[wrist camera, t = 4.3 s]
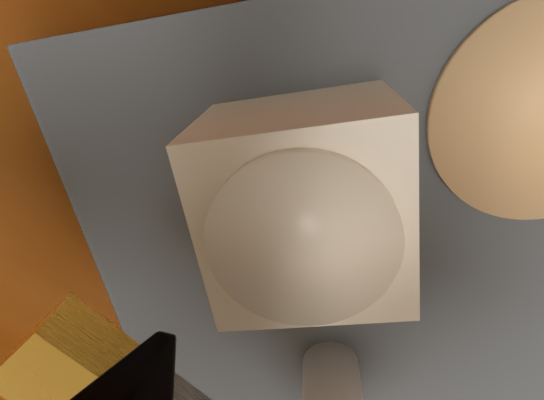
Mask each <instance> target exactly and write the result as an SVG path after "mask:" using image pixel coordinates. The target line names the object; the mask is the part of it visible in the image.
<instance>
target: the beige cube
mask: <svg viewBox="0 0 544 400" xmlns="http://www.w3.org/2000/svg"><path fill="white" fill-rule="evenodd" d="M166 150H167V154H168V157H169V161H170V164H171V168H172V171H173V175H174V179H175V182H176V186H177V189H178V193H179V196H180V200H181V203H182V207H183V211H184V214H185V218H186V221H187V225H188V228H189V232H190V236H191V239H192V243H193V246H194V250H195V253H196V257H197V260H198V264H199V268H200V271H201V275H202V278H203V282H204V285H205V289H206V292H207V296H208V300H209V303H210V307H211V310H212V314H213V317H214V321H215V325H216V328H217V332H231V331H249V330H266V329H284V328H301V327H319V326H337V325H354V324H372V323H389V322H407V321H420V259H419V112H417V111H416V110H415V109H414V108H413V107H412V106H411V105H410V104H409V103H407V102H406V101H405V100H404V99H403V98H402V97H401V96H400V95H398V94H397V93H396V92H395V91H394V90H393V89H392V88H391V87H389V86H388V85H387V84H386V83H385V82H384V81H383V80H375V81H368V82H362V83H355V84H348V85H341V86H334V87H328V88H321V89H314V90H307V91H301V92H294V93H287V94H280V95H273V96H267V97H260V98H253V99H246V100H240V101H233V102H226V103H219V104H213V105H212V106H210V107H209V108H208V109H207V110H206V111H205V112H204V113H203V114H201V115H200V116H199V117H198V118H197V119H196V120H195V121H194V122H192V123H191V124H190V125H189V126H188V127H187V128H186V129H185V130H183V131H182V132H181V133H180V134H179V135H178V136H177V137H175V138H174V139H173V140H172V141H171V142H170V143H169V144H168V145H166Z"/></svg>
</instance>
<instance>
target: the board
mask: <svg viewBox="0 0 544 400" xmlns="http://www.w3.org/2000/svg"><path fill="white" fill-rule="evenodd" d="M6 46H7V48H8V51H9V53H10V56H11V58H12V61H13V63H14V66H15V68H16V70H17V73H18V75H19V78H20V80H21V83H22V85H23V88H24V90H25V92H26V95H27V97H28V100H29V102H30V105H31V107H32V110H33V112H34V114H35V117H36V119H37V122H38V124H39V127H40V129H41V132H42V134H43V136H44V139H45V141H46V144H47V146H48V149H49V151H50V154H51V156H52V158H53V161H54V163H55V166H56V168H57V171H58V173H59V176H60V178H61V181H62V183H63V185H64V188H65V190H66V193H67V195H68V198H69V200H70V203H71V205H72V207H73V210H74V212H75V215H76V217H77V220H78V222H79V225H80V227H81V229H82V232H83V234H84V237H85V239H86V242H87V244H88V247H89V249H90V251H91V254H92V256H93V259H94V261H95V264H96V266H97V269H98V271H99V273H100V276H101V278H102V281H103V283H104V286H105V288H106V291H107V293H108V295H109V298H110V300H111V303H112V305H113V308H114V310H115V313H116V315H117V317H118V320H119V322H120V325H121V327H122V330H123V332H124V333H126V334H127V335H128V336H130V337H131V338H132V339H134V340H135V341H136V342H138V343H139V344H141V343H143V342H144V341H145V340H147V339H148V338H149V337H150V336H152V335H153V334H154V333H156V332H158V331H163V332H167V333H171V334H174V335H176V358H175V372H176V373H177V374H178V375H180V376H181V377H182V378H184V379H185V380H186V381H188V382H189V383H190V384H192V385H193V386H194V387H196V388H197V389H198V390H200V391H201V392H202V393H204V394H205V395H206V396H208V397H209V398H210V399H212V400H544V0H247V1H242V2H237V3H231V4H226V5H220V6H215V7H210V8H204V9H199V10H194V11H188V12H183V13H177V14H172V15H167V16H161V17H156V18H151V19H145V20H140V21H134V22H129V23H124V24H118V25H113V26H108V27H102V28H97V29H91V30H86V31H81V32H75V33H70V34H65V35H59V36H54V37H49V38H43V39H38V40H32V41H27V42H22V43H16V44H11V45H6ZM375 80H383V81H384V82H385V83H386V84H387V85H388V86H389V87H391V88H392V89H393V90H394V91H395V92H396V93H397V94H398V95H400V96H401V97H402V98H403V99H404V100H405V101H406V102H407V103H409V104H410V105H411V106H412V107H413V108H414V109H415V110H416V111H417V112H419V259H420V321H407V322H389V323H372V324H354V325H337V326H319V327H301V328H284V329H266V330H249V331H231V332H217V328H216V325H215V321H214V317H213V314H212V310H211V307H210V303H209V300H208V296H207V292H206V289H205V285H204V282H203V278H202V275H201V271H200V268H199V264H198V260H197V257H196V253H195V250H194V246H193V243H192V239H191V236H190V232H189V228H188V225H187V221H186V218H185V214H184V211H183V207H182V203H181V200H180V196H179V193H178V189H177V186H176V182H175V179H174V175H173V171H172V168H171V164H170V161H169V157H168V154H167V150H166V145H168V144H169V143H170V142H171V141H172V140H173V139H174V138H175V137H177V136H178V135H179V134H180V133H181V132H182V131H183V130H185V129H186V128H187V127H188V126H189V125H190V124H191V123H192V122H194V121H195V120H196V119H197V118H198V117H199V116H200V115H201V114H203V113H204V112H205V111H206V110H207V109H208V108H209V107H210V106H212V105H213V104H219V103H226V102H233V101H240V100H246V99H253V98H260V97H267V96H273V95H280V94H287V93H294V92H301V91H307V90H314V89H321V88H328V87H334V86H341V85H348V84H355V83H362V82H368V81H375Z"/></svg>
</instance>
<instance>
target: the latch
mask: <svg viewBox="0 0 544 400" xmlns="http://www.w3.org/2000/svg"><path fill="white" fill-rule="evenodd" d="M139 345H140V344H139V343H138V342H136V341H135V340H134V339H132V338H131V337H130V336H128V335H127V334H126V333H124V332H123V331H122V330H120V329H119V328H118V327H116V326H115V325H114V324H112V323H111V322H110V321H108V320H107V319H106V318H104V317H103V316H102V315H100V314H99V313H98V312H96V311H95V310H94V309H92V308H91V307H90V306H88V305H87V304H86V303H84V302H83V301H82V300H80V299H79V298H78V297H76V296H75V295H74V294H72V293H71V292H70V293H69V294H68V295H67V296H66V297H65V298H64V299H63V300H62V301H61V302H60V303H59V304H58V305H57V306H56V307H55V308H54V309H53V310H52V311H51V312H50V313H49V314H48V315H47V316H46V317H45V318H44V319H43V320H42V321H41V322H40V323H39V324H38V325H37V326H36V327H35V328H34V329H33V330H32V331H31V332H30V333H29V334H28V335H27V336H26V337H25V338H24V339H23V340H22V341H21V342H20V343H19V344H18V345H17V346H16V347H15V348H14V349H13V351H12V352H11V353H10V354H9V355H8V356H7V357H6V358H5V359H4V361H3V362H2V363H1V364H0V396H2V397H4V398H5V399H7V400H70V399H71V398H72V397H74V396H75V395H76V394H77V393H79V392H80V391H81V390H83V389H84V388H85V387H86V386H88V385H89V384H90V383H92V382H93V381H94V380H95V379H97V378H98V377H99V376H101V375H102V374H103V373H104V372H106V371H107V370H108V369H109V368H111V367H112V366H113V365H115V364H116V363H117V362H118V361H120V360H121V359H122V358H124V357H125V356H126V355H127V354H129V353H130V352H131V351H133V350H134V349H135V348H136V347H138V346H139ZM174 400H212V399H210V398H209V397H208V396H206V395H205V394H204V393H202V392H201V391H200V390H198V389H197V388H196V387H194V386H193V385H192V384H190V383H189V382H188V381H186V380H185V379H184V378H182V377H181V376H180V375H178V374H177V373H176V372H175V380H174Z"/></svg>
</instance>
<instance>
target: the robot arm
mask: <svg viewBox="0 0 544 400" xmlns="http://www.w3.org/2000/svg"><path fill="white" fill-rule="evenodd" d="M175 358H176V335H174V334H171V333H167V332H163V331H158V332H156V333H154V334H153V335H152V336H150V337H149V338H148V339H147V340H145V341H144V342H143V343H141V344H140V345H139V346H138V347H136V348H135V349H134V350H133V351H131V352H130V353H129V354H127V355H126V356H125V357H124V358H122V359H121V360H120V361H118V362H117V363H116V364H115V365H113V366H112V367H111V368H109V369H108V370H107V371H106V372H104V373H103V374H102V375H101V376H99V377H98V378H97V379H95V380H94V381H93V382H92V383H90V384H89V385H88V386H86V387H85V388H84V389H83V390H81V391H80V392H79V393H77V394H76V395H75V396H74V397H72V398H71V399H70V400H174V380H175Z"/></svg>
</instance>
